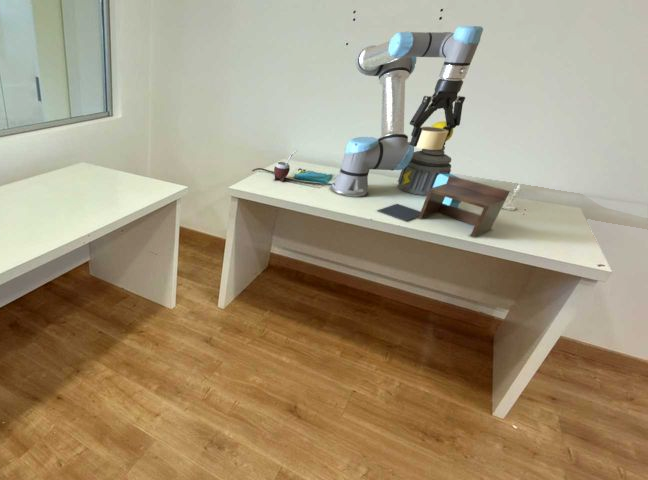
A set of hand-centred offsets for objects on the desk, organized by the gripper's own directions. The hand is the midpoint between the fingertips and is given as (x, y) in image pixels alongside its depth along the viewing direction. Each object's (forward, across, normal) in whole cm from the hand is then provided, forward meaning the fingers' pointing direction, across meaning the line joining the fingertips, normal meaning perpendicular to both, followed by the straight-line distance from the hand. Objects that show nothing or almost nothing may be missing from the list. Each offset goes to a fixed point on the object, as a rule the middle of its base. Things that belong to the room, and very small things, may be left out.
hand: (426, 145), depth 150 cm
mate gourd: (+27, -36, +42) cm, 61 cm away
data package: (+27, +23, +8) cm, 36 cm away
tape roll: (0, 0, 0) cm, 0 cm away
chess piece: (+27, +49, +4) cm, 56 cm away
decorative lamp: (+27, +25, +27) cm, 45 cm away
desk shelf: (+27, +14, -11) cm, 32 cm away
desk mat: (+27, 0, 0) cm, 27 cm away
